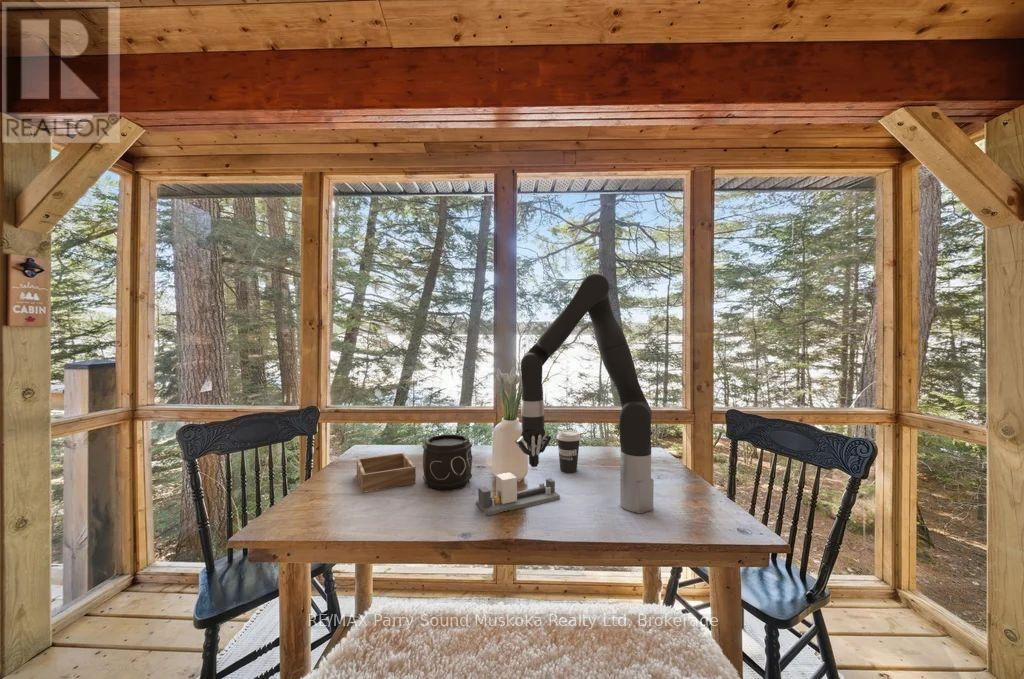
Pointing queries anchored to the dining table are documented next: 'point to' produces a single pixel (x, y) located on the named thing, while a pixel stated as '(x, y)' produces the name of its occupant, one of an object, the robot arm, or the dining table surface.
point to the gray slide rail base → (523, 498)
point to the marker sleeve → (506, 487)
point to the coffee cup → (568, 450)
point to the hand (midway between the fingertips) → (534, 466)
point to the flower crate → (385, 471)
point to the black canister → (447, 462)
